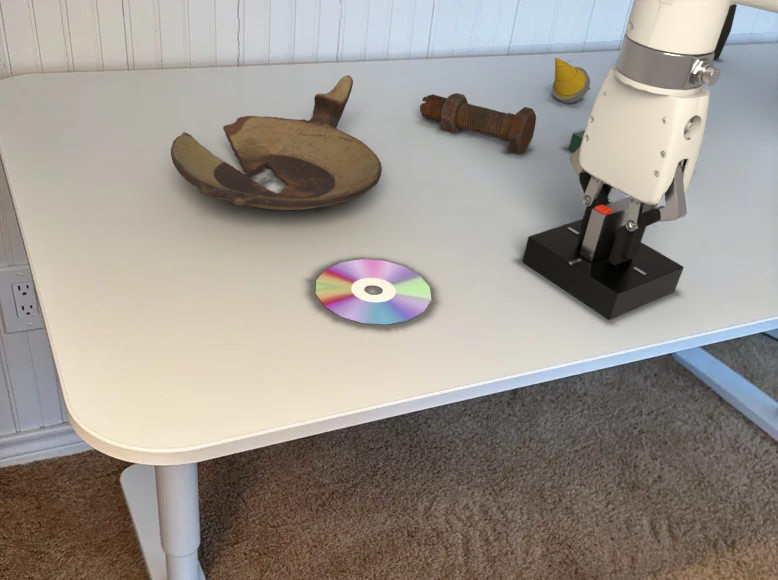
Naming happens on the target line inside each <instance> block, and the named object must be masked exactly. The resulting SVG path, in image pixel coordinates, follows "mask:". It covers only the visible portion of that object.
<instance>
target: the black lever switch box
mask: <svg viewBox="0 0 778 580" xmlns="http://www.w3.org/2000/svg"><path fill="white" fill-rule="evenodd" d="M582 221H583V218H580V219H578V220H575V221H572V222H568V223H565V224H562V225H559V226H555V227H553V228H550V229H547V230H544V231H541V232H539V233H535V234H533V235H529V236H528V237H527V241H526V245H525V248H524V254H523V258H522V263H523V264H525V265H526V266H528V267H529V268H531V269H532V270H534V271H535V272H537V273H538V274H540V275H541V276H542V277H544V278H546V279H547V280H549V281H550V282H551V283H553V284H554V285H556V286H558V287H559V288H560V289H562V290H563V291H565V292H566V293H568V294H570V295H571V296H573V297H574V298H576V300H578V301H580V302H581V303H583V304H584V305H586V306H588V307H589V308H590V309H592V310H593V311H594V312H596V313H598V314H599V315H601V316H602V317H604V318H605V319H607V320H608V321H610V320H613V319H615V318H618V317H620V316H622V315H625V314H627V313H629V312H631V311H634V310H636V309H638V308H641V307H643V306H645V305H648V304H650V303H652V302H654V301H657V300H659V299H661V298H664V297H666V296H669V295H671V294H674V293H675V291H676V289H677V286H678V283H679V281H680V278H681V277H682V273H683V271H684V268H685V267H684V266H683V265H682V264H680V263H678V262H676V261H674V260H673V259H671V258H669V257H667V256H666V255H664V254H663V253H661V252H659V251H657V250H656V249H653V247H650V246H649V245H648V244H645V243H643V242H642V241H641V243H640V246H639V249H638V252H637V254H636V255H635V256H634V257H633V258H632V259H630V260H627V261H625V262H622V263H619V264H617V265H613V264H611V263H610V262H609V257H610V255H608V256H606V257H603V258H600V259H598V260H595V261H592V262H591V261H589V260H587V259H586V258H584V257H583V256H581V255H580V251H581V247H582V245H580V244H579V243H578V239H579V236H580V232H581V225H582Z"/></svg>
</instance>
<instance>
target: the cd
mask: <svg viewBox="0 0 778 580" xmlns="http://www.w3.org/2000/svg"><path fill="white" fill-rule="evenodd" d="M370 286H376V287H379V288H380V289H381V290H382V292H381V293H379V294H370V293H368V292H367V291H366V290H365V289H366V288H367V287H370ZM315 295H316V296H317V298H318V299H319V301H320V302H321V304H322V306H323V307H325V308H326V309H328V310H330V311H331V312H333V313H334V314H335V315H338V317H341V318H344V319H347V320H350V321H353V322H358V323H361V324H370V325H371V324H373V325H391V324H396V323H397V324H398V323H402V322H407V321H408V322H409V321H410V320H412V319H413V318H415V317H417V316H419V315H421V314H423V313H425V311H426V309H427V308H428V307H429V304H430V303H431V302H432V294H431V287H430V285H429V284H428V283H427V282H426V281H425V279H424V278H423V277H422V276H421V275H420V274H418V273H417V272H414V270H412V269H410V268H408V267H406V266H404V265H401V264H398V263H395V262H394V263H393V262H391V261H386V260H384V259H383V260H381V259H367V258H360V259H353V260H347V261H342V262H339V263H337V264H335V265H333V266H330V267H328V268H326V269H325V270H324V271H323V272H322V273H321V274H320V275H319V276H318V277H317V279H316V281H315Z"/></svg>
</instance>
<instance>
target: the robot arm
mask: <svg viewBox="0 0 778 580" xmlns="http://www.w3.org/2000/svg"><path fill="white" fill-rule="evenodd" d="M733 4H736V5H739V6H744V7H749V8H754V9H758V10H762V11H766V12H770V13H774V14H778V0H633V2H632V5H631V9H630V12H629V17H628V20H627V24H626V27H625V31H624V34H623V38H622V41H621V42H622V43H621V46H620V49H619V50H620V51H619V53H618V57H617V60H616V63H614V64H612V65H611V66H610V68H609V70H608V72H607V73H606V75H605V77H604V80H603V81H602V83H601V86H600V87H599V90H598V92H597V96H596V97H595V100H594V103H593V105H592V107H591V111H590V114H589V116H588V120H587V122H586V125H585V128H584V130H585V132H584V135H583V139H582V143H581V146H580V147H579V148H578V149H577V150H576V151H575V152H573V153H572V154H571V155H570V157H569V164H570V166H571V167H572V168H573V170H574V172H575V173H576V175H577V176H578V180H579V184H580V186H581V189H582V192H583V197H582V203H583V205H584V206H585V210H584V214H583V217H582V219H583V221H582V225H581V232H580V236H579V239H578V243H579V244H580V245H582V244H583V240H584V237H585V233H586V230H587V226H588V223H589V219H590V216H591V212H592V209H593V208H595V207H596V206H599V205H602V204H603V205H606V204H609V203H612V202H611V201H609V200H610V199H611V198H612V194H613V192H614V190H617V191H619V192H621V193H623V194H624V195H626V196H628V197H630V202H629V208H628V213H627V218H626V225H624V226H621V227H619V229H618V231H617V234H616V238H615V241H614V244H613V247H612V250H611V254H610V257H609V262H610V263H611V264H613V265H617V264H619V263H622V262H625V261H627V260H630V259H632V258H633V257H634V256H635V255H636V254H637V252H638V249H639V246H640V243H641V242H642V241H643V237H644V234H645V231H646V228H647V227H648V226H651V225H654V224H655V223H659V222H660V223H661V222H672V221H677V220H679V219H683V218H685V217H686V216H687V214H688V212H687V203H686V202H687V201H686V195H685V194H686V193H687V191H688V189H689V186H690V183H691V180H692V178H693V174H694V171H695V168H696V165H697V162H698V158H699V154H700V150H701V147H702V143H703V140H704V139H703V138H704V134H705V129H706V126H707V125H706V124H707V119H708V112H709V104H710V90H709V89H706V88H705V87H703V86H705V84H706V85H708V86H714V85H715V84H716V83H717V82H718V80H719V78H720V75H721V70H720V69H719V68H717V67H715V66H714V64H713V63H714V60H715V59H714V56H715V54H714V51H715V48H716V45H717V42H718V39H719V37H720V34H721V31H722V28H723V25H724V22H725V19H726V16H727V13H728V11H729V8H730V6H731V5H733ZM663 195H664V200H665V202H664V203H665V204H664V205H660V206H658V204H659V203H660V201H661V200H662V197H663Z"/></svg>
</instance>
